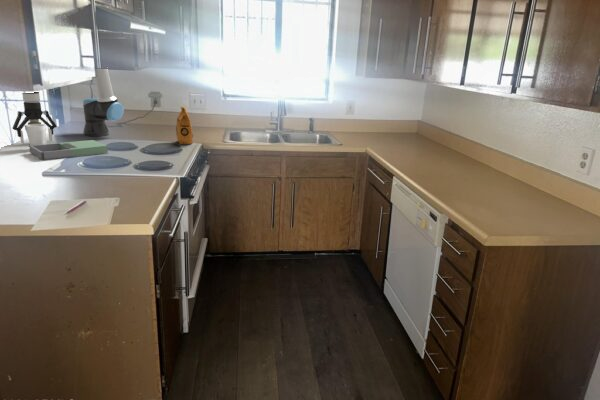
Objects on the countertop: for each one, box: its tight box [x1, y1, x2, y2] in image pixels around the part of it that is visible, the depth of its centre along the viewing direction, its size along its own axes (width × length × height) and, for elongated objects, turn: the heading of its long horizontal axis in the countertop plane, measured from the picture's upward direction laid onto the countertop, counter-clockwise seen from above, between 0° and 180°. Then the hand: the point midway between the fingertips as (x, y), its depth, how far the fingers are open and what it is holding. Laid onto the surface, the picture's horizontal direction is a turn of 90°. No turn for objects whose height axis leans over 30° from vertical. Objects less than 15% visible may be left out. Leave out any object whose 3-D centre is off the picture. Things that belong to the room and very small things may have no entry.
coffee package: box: [175, 106, 194, 145], centre depth 265 cm, size 10×12×22 cm
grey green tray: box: [28, 139, 109, 161], centre depth 226 cm, size 32×19×4 cm, turn 136°
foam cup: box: [24, 123, 47, 146], centre depth 228 cm, size 10×9×13 cm
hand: (37, 142), depth 229 cm, fingers open, 13 cm apart
